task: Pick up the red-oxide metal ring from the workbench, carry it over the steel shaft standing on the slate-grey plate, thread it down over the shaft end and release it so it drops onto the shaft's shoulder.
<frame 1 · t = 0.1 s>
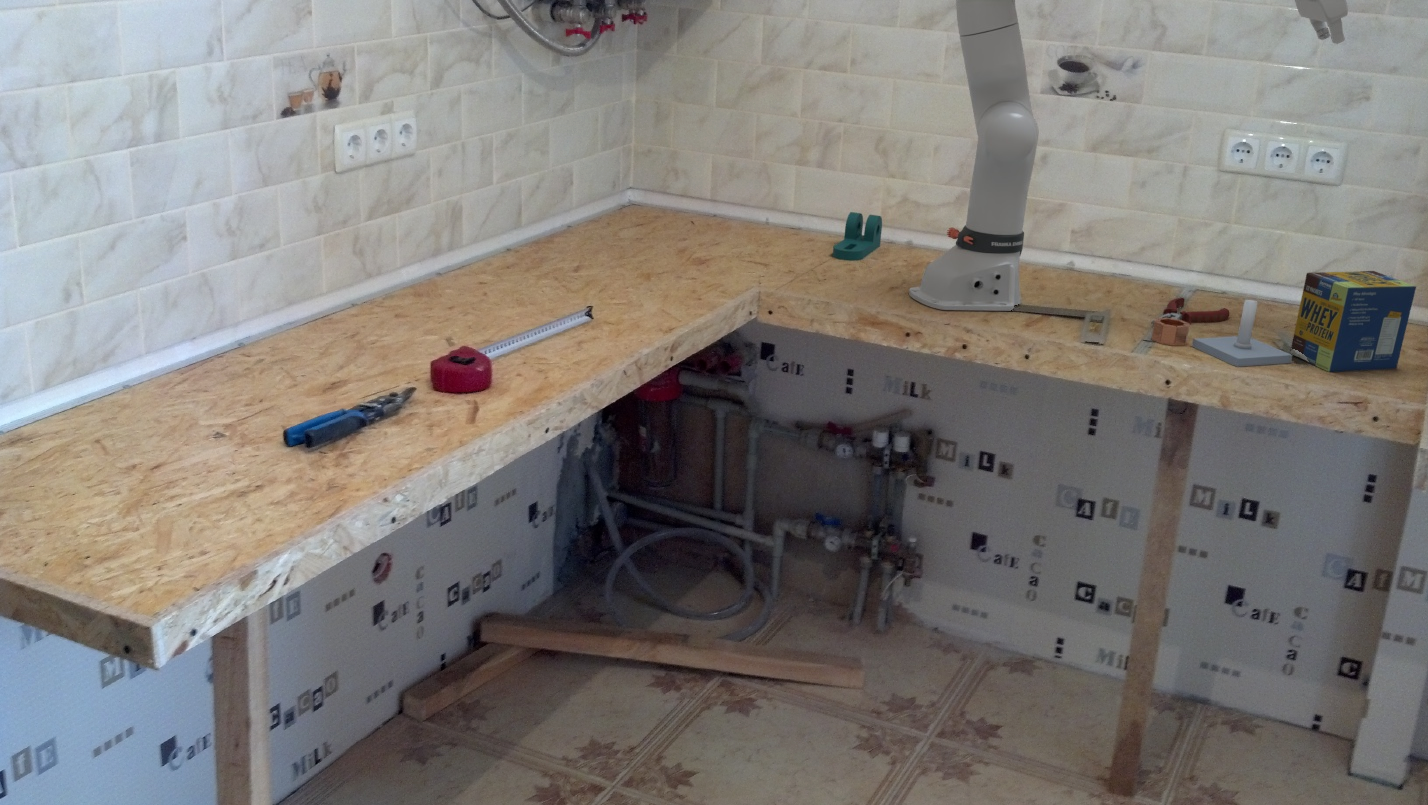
hand: (1331, 40, 248), 54 cm above the worktop, tool tilted 30°, fingers open, 8 cm apart
ring: (1168, 340, 252), on the worktop
bracket: (854, 253, 306), on the worktop
shaft block: (1240, 354, 246), on the worktop
protein box: (1342, 363, 246), on the worktop
pliers: (1176, 320, 269), on the worktop
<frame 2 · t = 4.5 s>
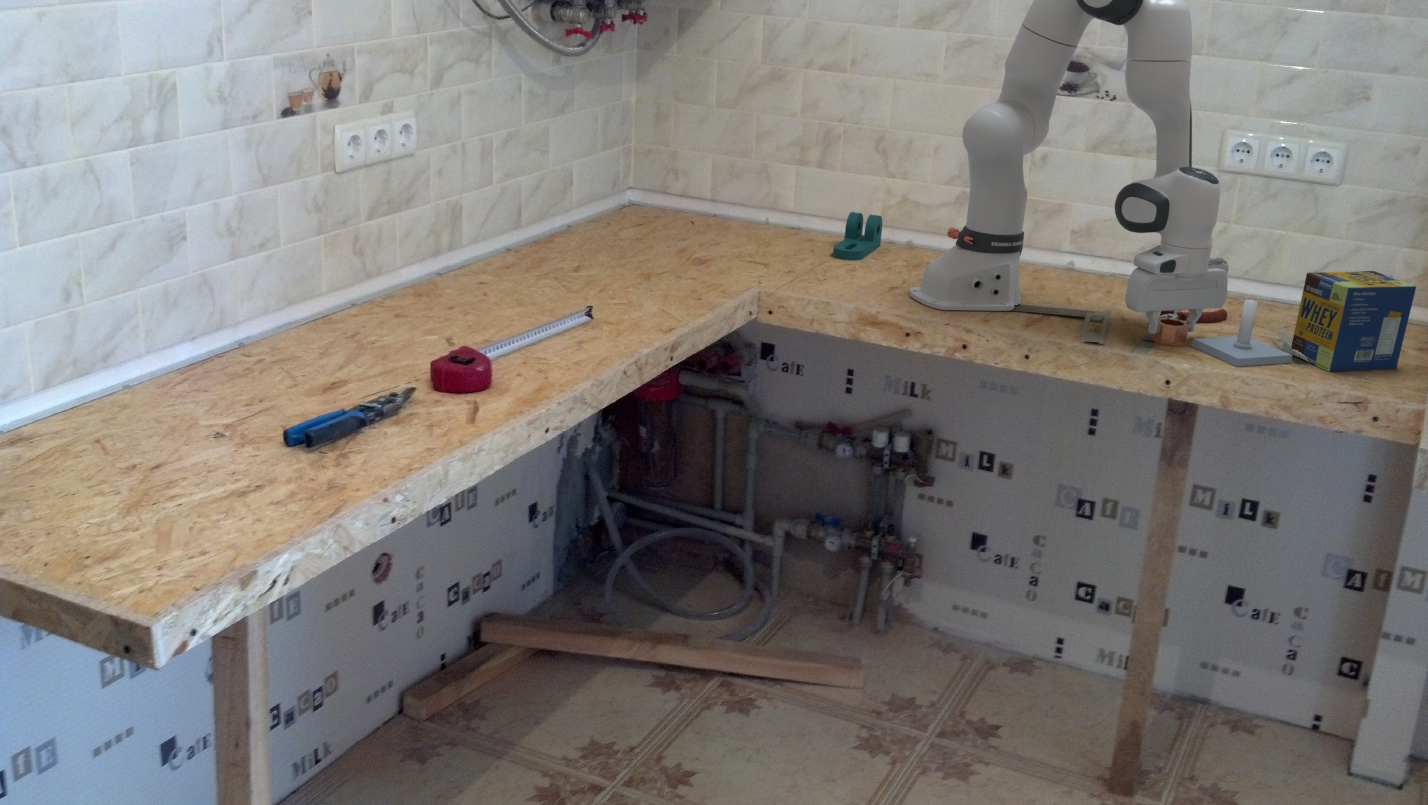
hand: (1170, 332, 251), 2 cm above the worktop, tool pointing down, fingers closed on ring, 6 cm apart
ring: (1168, 340, 252), on the worktop, touching gripper
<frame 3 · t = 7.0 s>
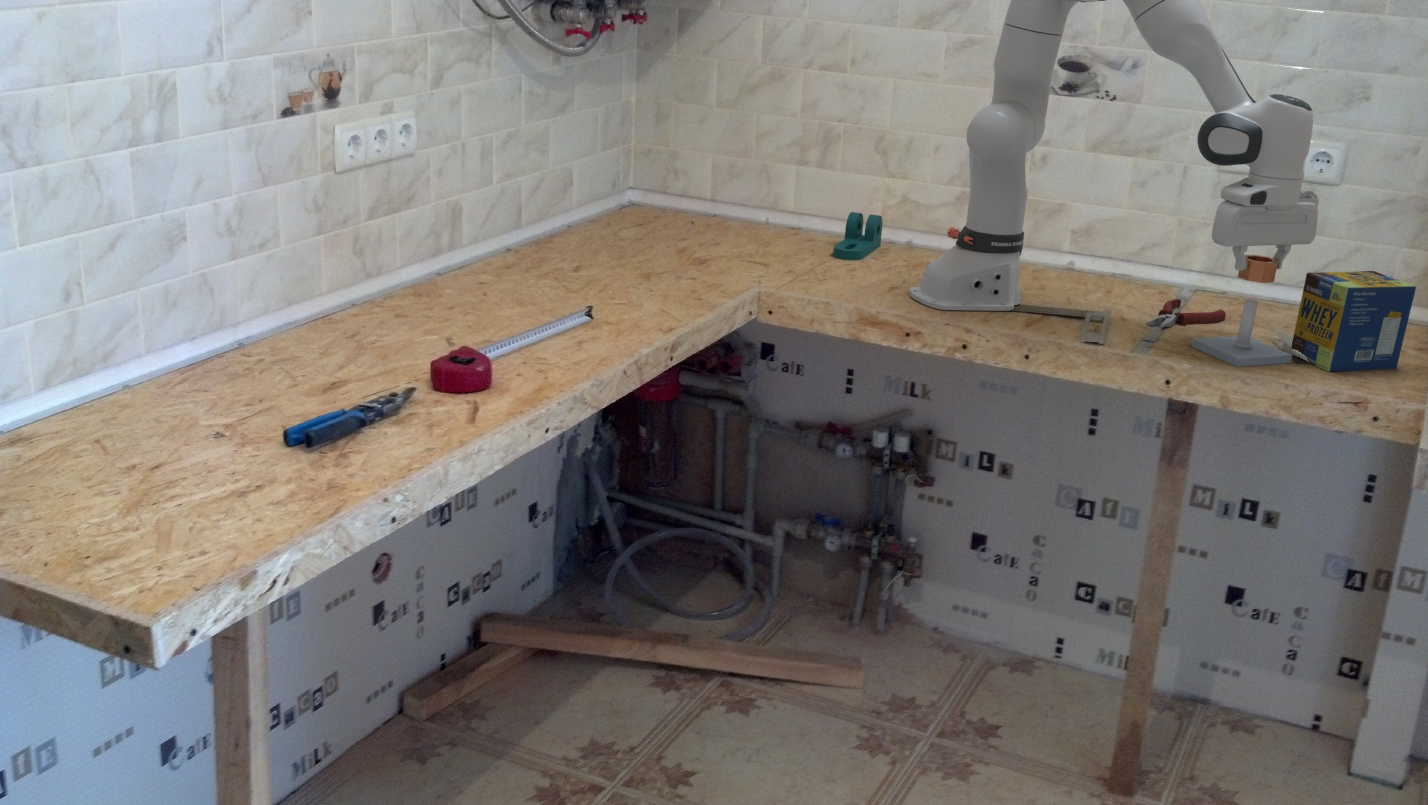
hand: (1257, 269, 240), 16 cm above the worktop, tool pointing down, fingers closed on ring, 6 cm apart
ring: (1256, 278, 241), point 14 cm above the worktop, touching gripper
when the fingers open (8 cm above the worktop, at t = 9.7 s): ring drops 4 cm, resting on shaft block.
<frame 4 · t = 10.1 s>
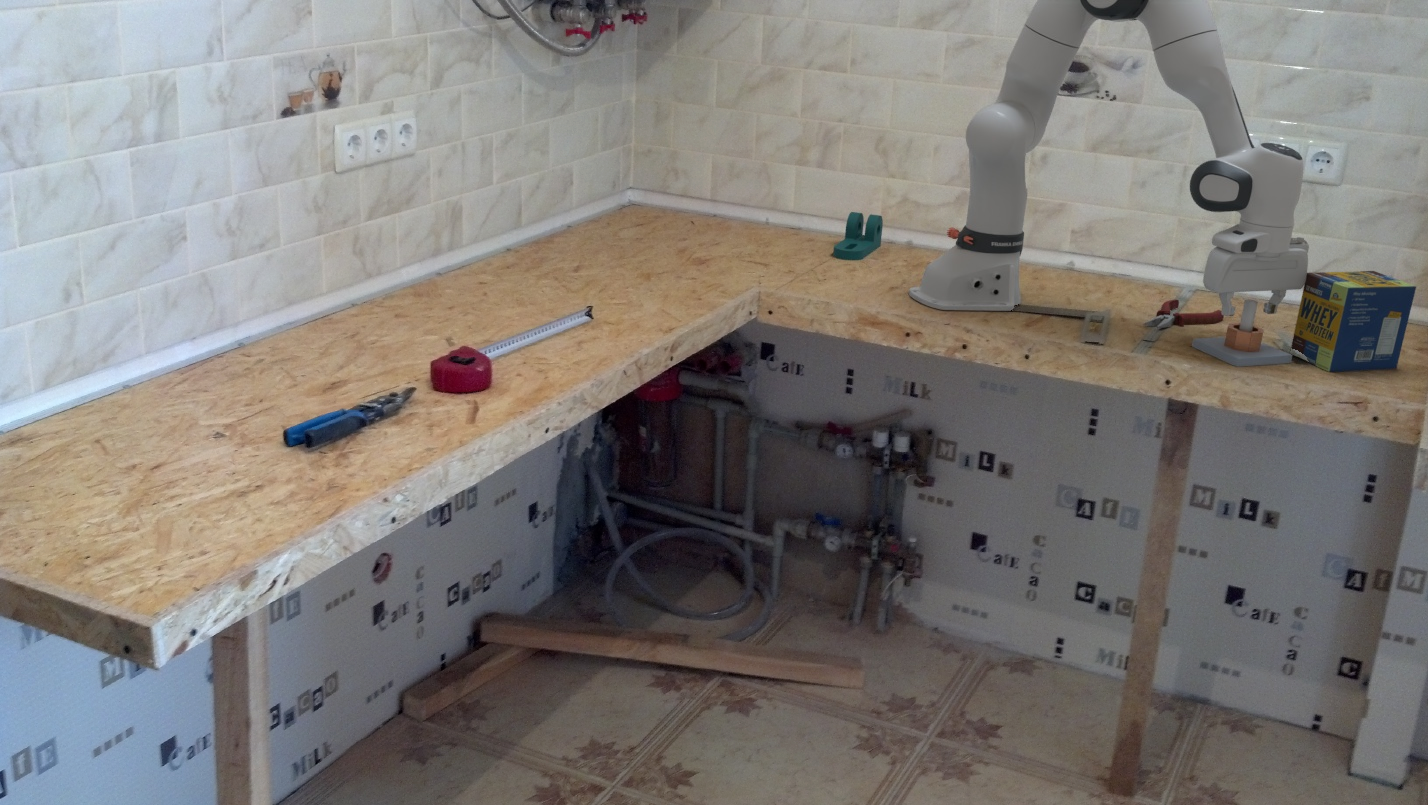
hand: (1248, 314, 243), 8 cm above the worktop, tool pointing down, fingers open, 8 cm apart
ring: (1242, 346, 245), point 1 cm above the worktop, touching shaft block
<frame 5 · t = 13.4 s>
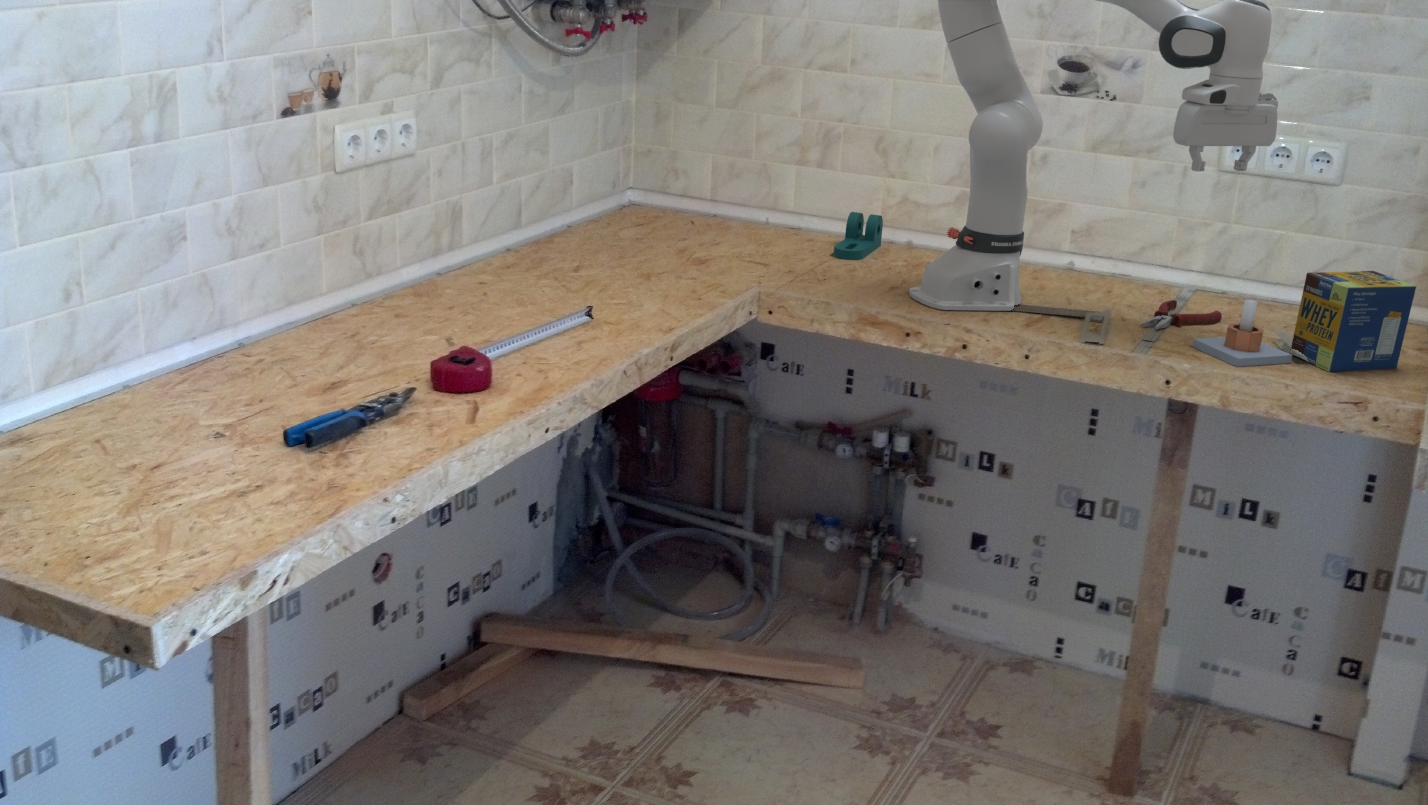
hand: (1218, 170, 245), 31 cm above the worktop, tool pointing down, fingers open, 8 cm apart
at the end: ring 0.0 cm off-centre on the shaft block, point 1.5 cm above the shaft block's base; the gripper is holding nothing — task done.
